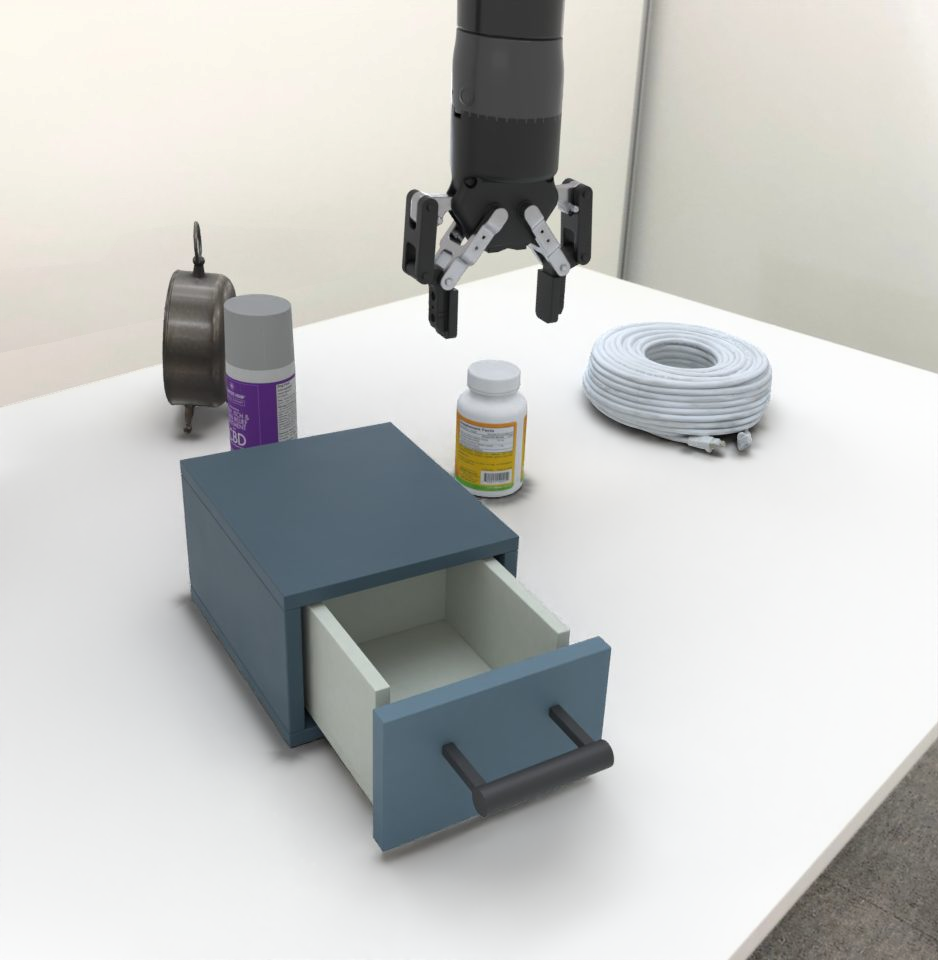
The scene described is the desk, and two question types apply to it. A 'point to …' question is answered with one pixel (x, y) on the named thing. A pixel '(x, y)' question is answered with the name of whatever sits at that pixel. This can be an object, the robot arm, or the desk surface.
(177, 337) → the alarm clock
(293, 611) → the cabinet
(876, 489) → the desk surface
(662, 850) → the desk surface
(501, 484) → the supplement bottle
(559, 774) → the drawer
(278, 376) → the container
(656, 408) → the cable
